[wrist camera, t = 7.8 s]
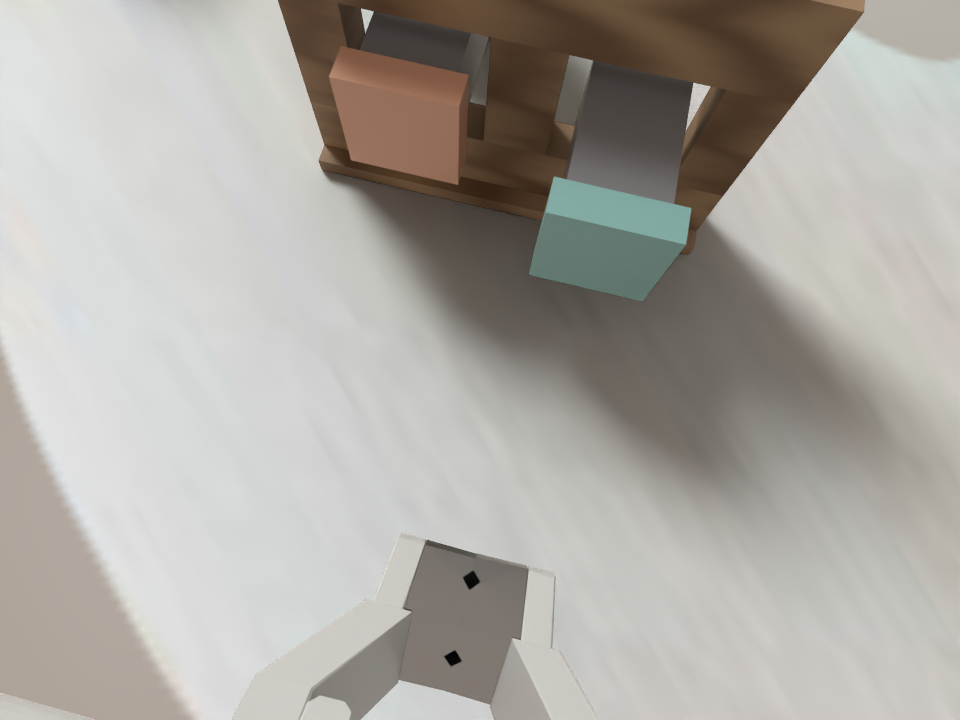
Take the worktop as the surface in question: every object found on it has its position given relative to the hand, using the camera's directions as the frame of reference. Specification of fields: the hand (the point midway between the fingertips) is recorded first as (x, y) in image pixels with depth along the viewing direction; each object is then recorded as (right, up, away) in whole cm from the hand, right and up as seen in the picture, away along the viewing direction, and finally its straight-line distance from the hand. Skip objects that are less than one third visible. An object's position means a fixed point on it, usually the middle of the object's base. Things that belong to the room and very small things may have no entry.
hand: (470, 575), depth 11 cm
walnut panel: (+2, +14, +21) cm, 25 cm away
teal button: (+6, +11, +15) cm, 20 cm away
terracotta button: (-2, +16, +17) cm, 23 cm away
